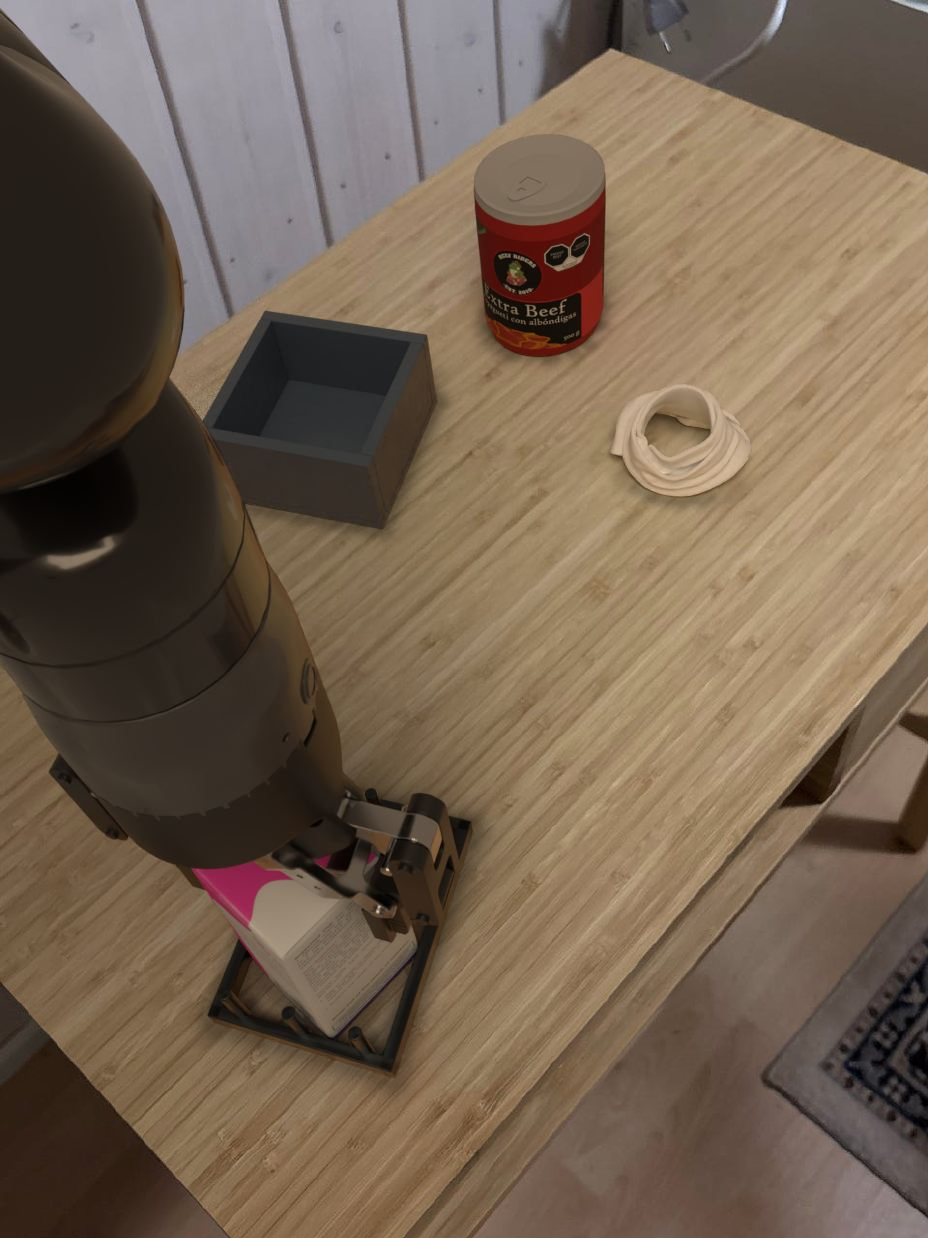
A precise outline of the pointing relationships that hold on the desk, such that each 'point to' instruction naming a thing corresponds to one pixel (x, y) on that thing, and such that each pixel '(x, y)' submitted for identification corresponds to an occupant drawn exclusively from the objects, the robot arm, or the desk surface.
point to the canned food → (541, 242)
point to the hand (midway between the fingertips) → (302, 892)
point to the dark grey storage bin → (324, 416)
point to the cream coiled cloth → (694, 465)
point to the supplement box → (309, 941)
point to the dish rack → (362, 1053)
